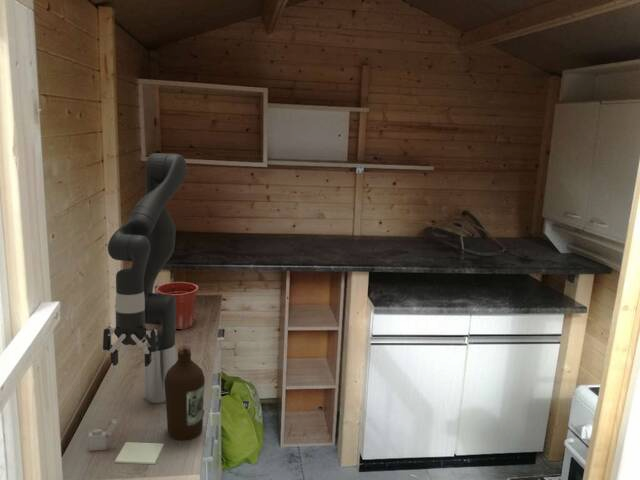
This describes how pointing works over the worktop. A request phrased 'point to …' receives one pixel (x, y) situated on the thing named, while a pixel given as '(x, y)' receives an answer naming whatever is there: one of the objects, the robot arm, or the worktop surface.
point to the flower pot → (181, 301)
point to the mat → (139, 453)
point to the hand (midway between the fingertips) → (131, 364)
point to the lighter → (100, 437)
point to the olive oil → (184, 397)
